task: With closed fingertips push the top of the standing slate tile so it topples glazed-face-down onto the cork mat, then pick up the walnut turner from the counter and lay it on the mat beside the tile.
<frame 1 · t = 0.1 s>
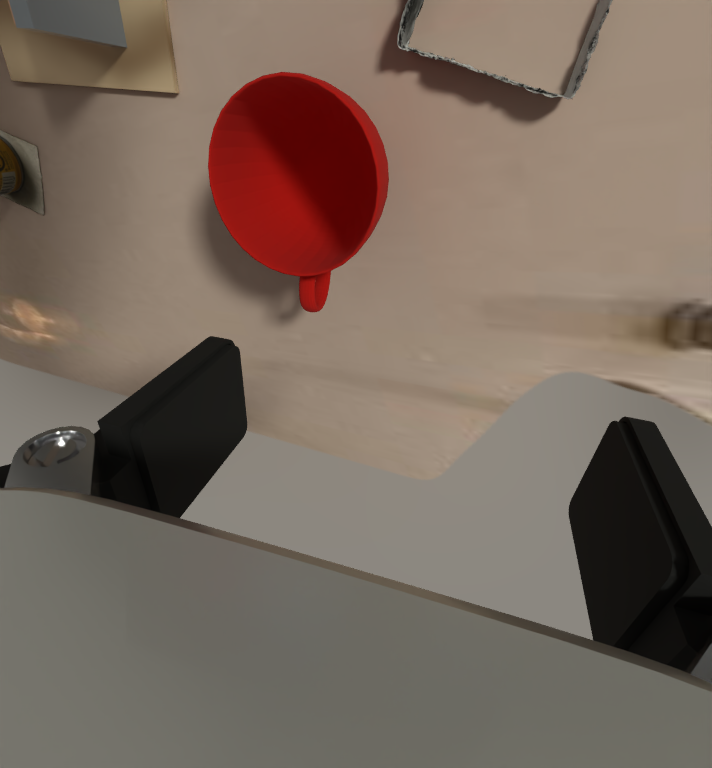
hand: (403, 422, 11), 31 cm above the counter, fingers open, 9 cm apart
ceramic cup: (335, 195, 39), on the counter
condiment: (10, 167, 46), on the counter
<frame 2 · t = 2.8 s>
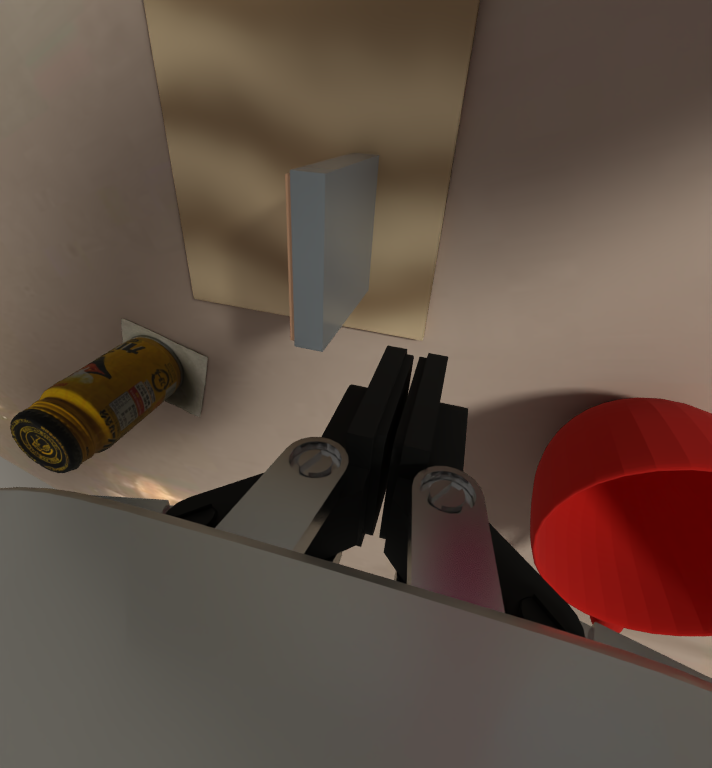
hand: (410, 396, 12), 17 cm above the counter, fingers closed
ceramic cup: (613, 457, 30), on the counter
slate tile: (359, 226, 26), point 1 cm above the counter, touching cork mat
cork mat: (302, 146, 25), on the counter
condiment: (165, 367, 39), on the counter
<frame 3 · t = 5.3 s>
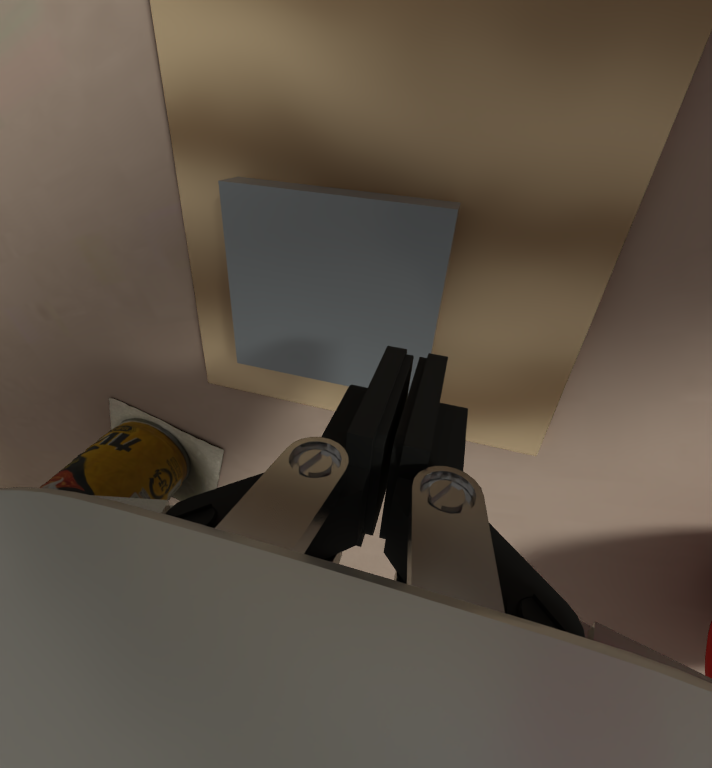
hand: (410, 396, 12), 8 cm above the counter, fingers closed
slate tile: (439, 310, 17), point 1 cm above the counter, tilted 90°, touching cork mat
cork mat: (383, 189, 17), on the counter
condiment: (166, 455, 30), on the counter
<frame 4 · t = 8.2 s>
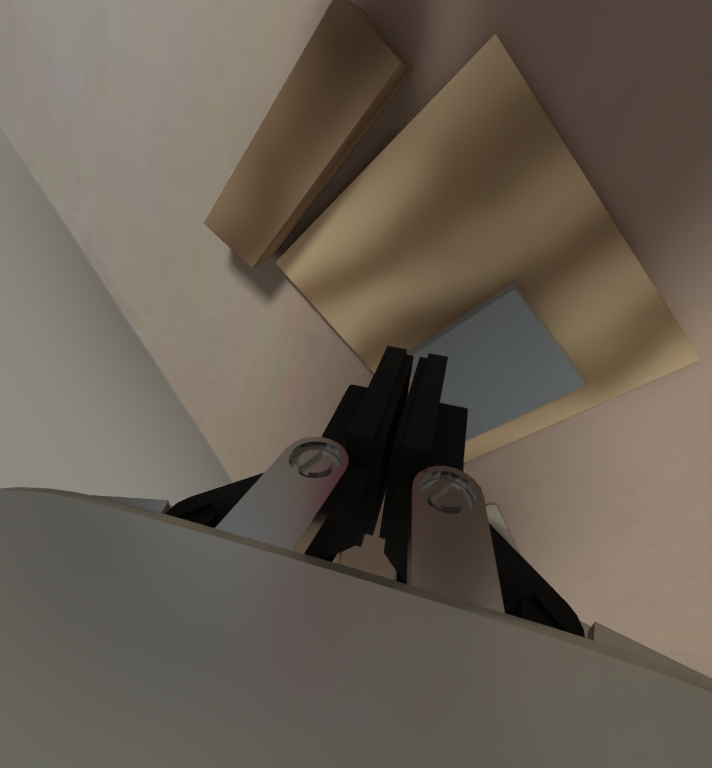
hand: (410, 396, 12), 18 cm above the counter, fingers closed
walnut turner: (312, 150, 26), on the counter
slate tile: (549, 332, 26), point 1 cm above the counter, tilted 90°, touching cork mat
cork mat: (471, 304, 28), on the counter
condiment: (464, 533, 41), on the counter
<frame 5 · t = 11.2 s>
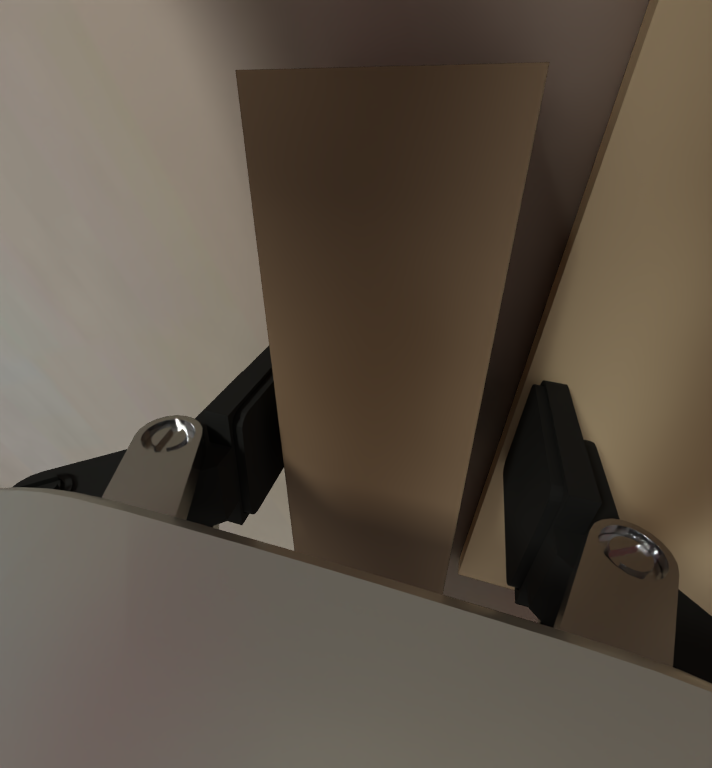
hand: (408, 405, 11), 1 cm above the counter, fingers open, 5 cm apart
walnut turner: (400, 378, 12), on the counter
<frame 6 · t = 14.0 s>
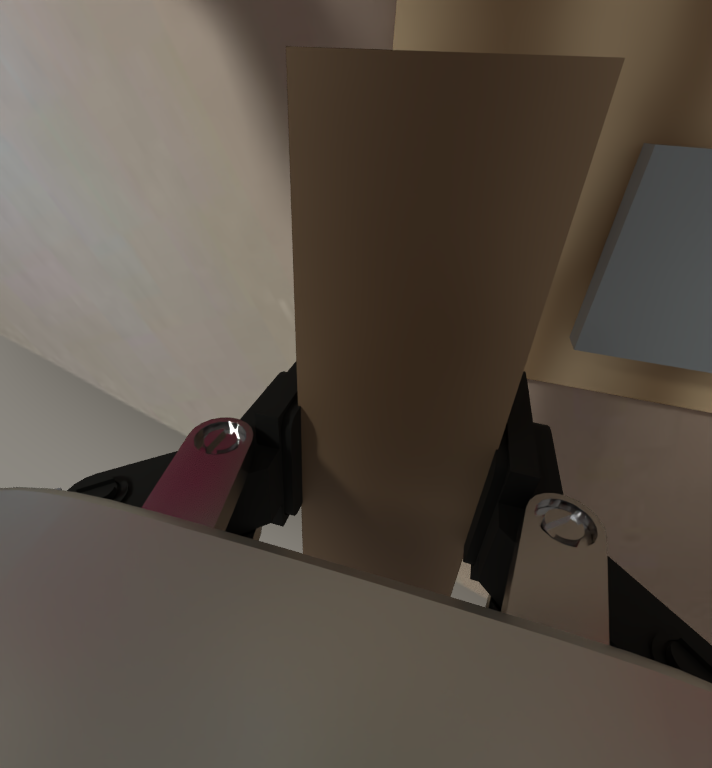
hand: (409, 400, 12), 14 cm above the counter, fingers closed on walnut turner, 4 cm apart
walnut turner: (415, 375, 12), point 13 cm above the counter, touching gripper
cork mat: (609, 217, 20), on the counter
when the fingers open (2 cm above the counter, at t = 16.4 s): walnut turner stays where it is, resting on cork mat.
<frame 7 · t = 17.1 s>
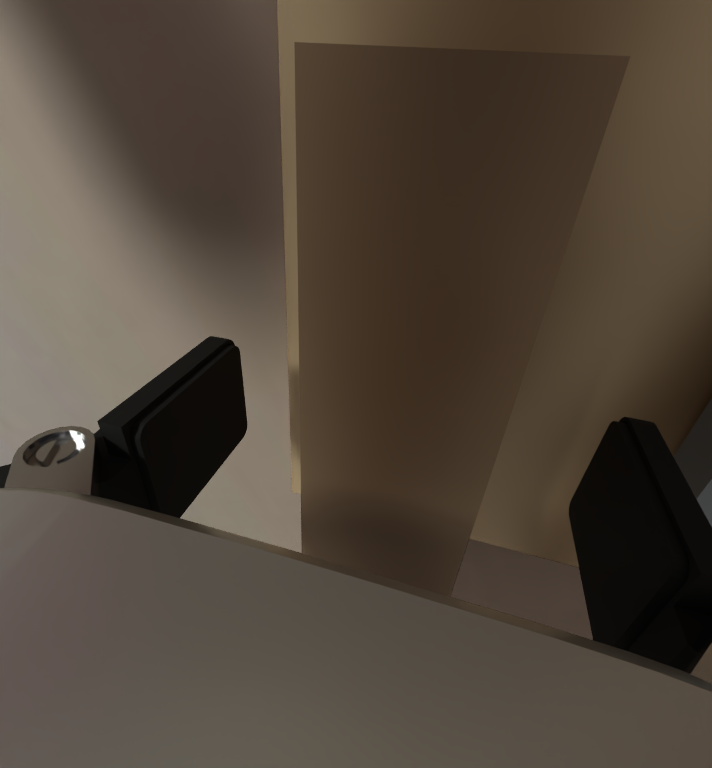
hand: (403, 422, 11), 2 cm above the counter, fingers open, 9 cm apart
walnut turner: (416, 375, 12), point 1 cm above the counter, touching cork mat
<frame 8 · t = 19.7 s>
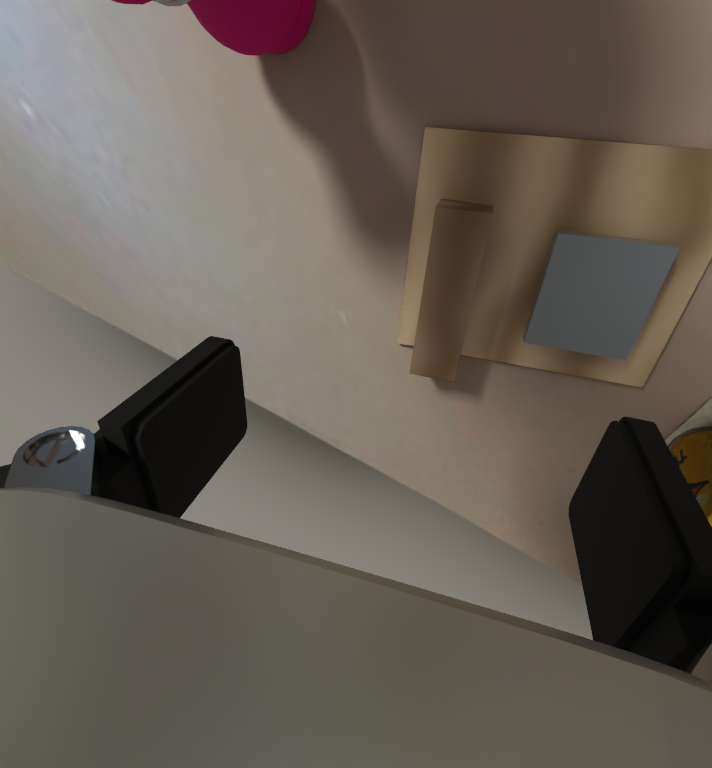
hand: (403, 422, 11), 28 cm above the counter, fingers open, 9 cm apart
walnut turner: (450, 287, 36), point 1 cm above the counter, touching cork mat
slate tile: (614, 237, 30), point 1 cm above the counter, tilted 90°, touching cork mat
cork mat: (542, 266, 34), on the counter
condiment: (711, 445, 38), on the counter
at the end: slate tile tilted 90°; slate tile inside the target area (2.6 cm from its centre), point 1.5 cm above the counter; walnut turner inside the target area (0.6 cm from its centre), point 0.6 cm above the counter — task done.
